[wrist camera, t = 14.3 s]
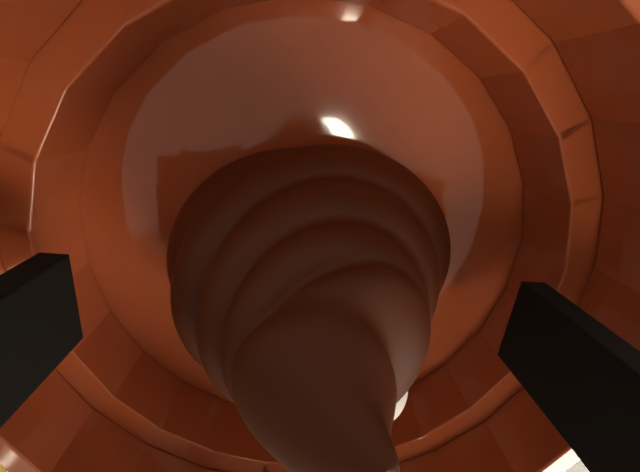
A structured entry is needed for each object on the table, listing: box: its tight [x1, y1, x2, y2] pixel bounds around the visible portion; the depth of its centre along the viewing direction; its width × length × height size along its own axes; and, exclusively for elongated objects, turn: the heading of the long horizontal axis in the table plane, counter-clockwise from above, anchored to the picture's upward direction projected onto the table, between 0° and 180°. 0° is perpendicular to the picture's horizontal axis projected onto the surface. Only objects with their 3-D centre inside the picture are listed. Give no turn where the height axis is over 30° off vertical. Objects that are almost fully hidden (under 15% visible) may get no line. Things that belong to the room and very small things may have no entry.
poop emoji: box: [167, 144, 451, 472], centre depth 10 cm, size 10×8×9 cm
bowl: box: [0, 0, 640, 472], centre depth 12 cm, size 21×21×6 cm
